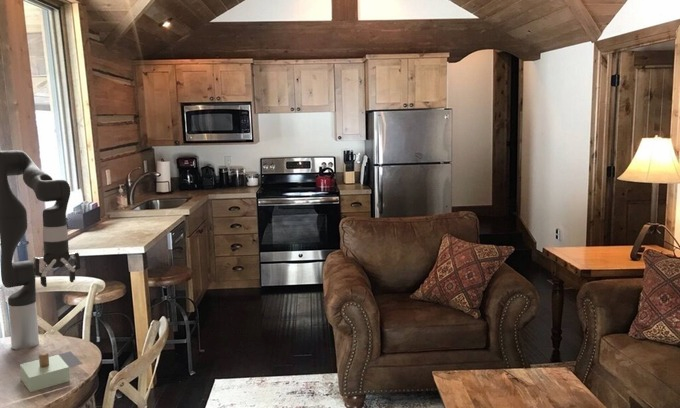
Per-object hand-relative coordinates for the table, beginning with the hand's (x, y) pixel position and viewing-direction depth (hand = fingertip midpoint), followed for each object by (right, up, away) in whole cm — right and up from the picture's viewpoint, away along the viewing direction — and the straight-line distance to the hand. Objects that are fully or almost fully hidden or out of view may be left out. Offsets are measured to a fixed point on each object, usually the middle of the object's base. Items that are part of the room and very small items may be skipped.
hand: (58, 284), depth 189 cm
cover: (-1, -31, -6) cm, 32 cm away
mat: (-5, -30, +7) cm, 31 cm away
